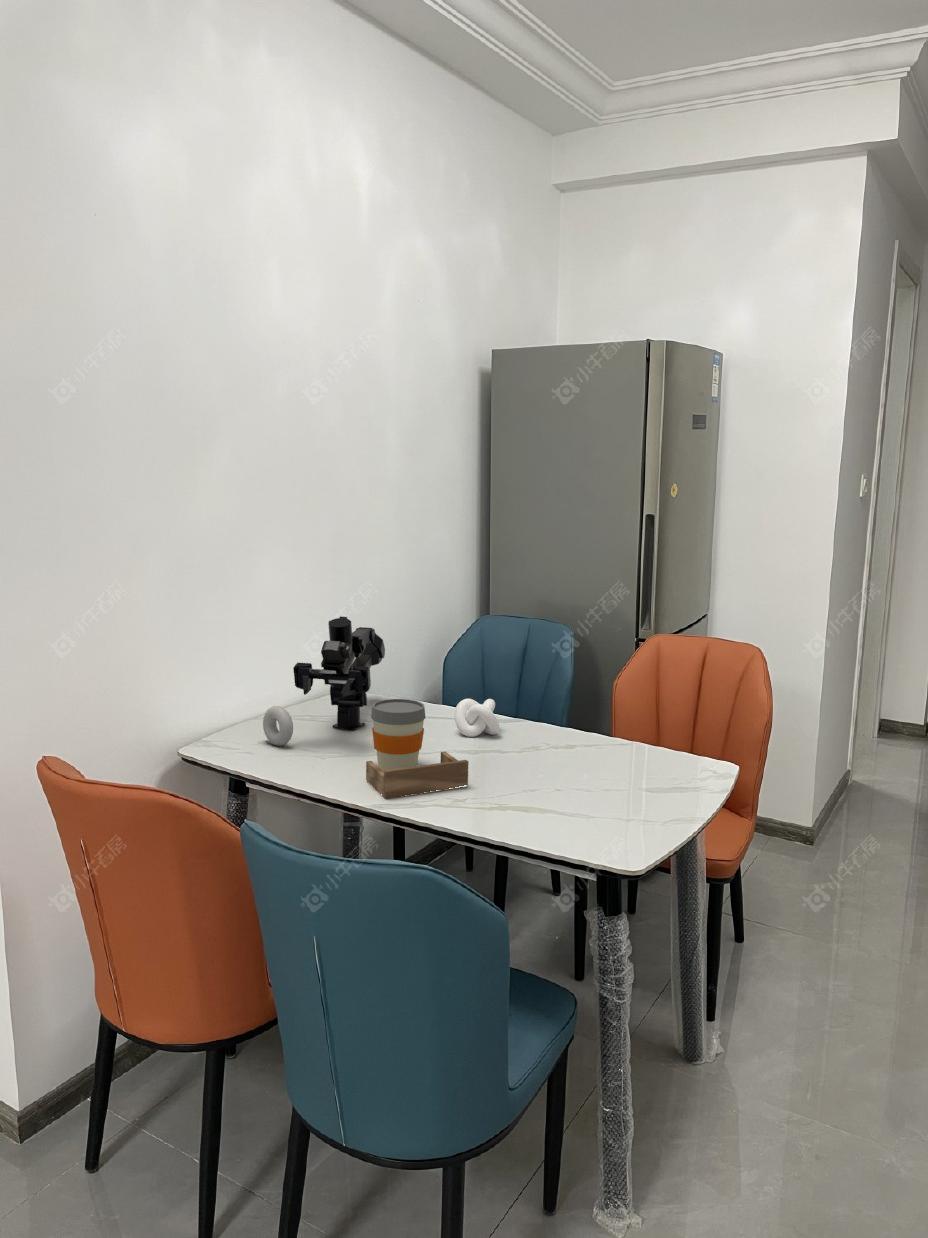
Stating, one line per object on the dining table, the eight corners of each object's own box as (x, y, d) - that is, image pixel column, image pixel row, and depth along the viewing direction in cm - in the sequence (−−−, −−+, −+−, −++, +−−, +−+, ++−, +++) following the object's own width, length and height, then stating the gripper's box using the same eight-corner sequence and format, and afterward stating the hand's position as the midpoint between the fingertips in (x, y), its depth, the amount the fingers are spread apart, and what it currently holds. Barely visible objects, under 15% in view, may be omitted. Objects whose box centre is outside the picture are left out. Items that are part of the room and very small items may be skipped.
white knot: (459, 741, 241) (460, 707, 239) (449, 728, 252) (450, 695, 251) (502, 739, 244) (503, 706, 242) (490, 726, 255) (491, 694, 253)
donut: (296, 748, 232) (296, 709, 230) (285, 751, 230) (284, 711, 228) (271, 739, 239) (270, 701, 237) (260, 742, 236) (259, 703, 234)
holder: (366, 780, 211) (366, 754, 210) (445, 770, 219) (445, 745, 218) (385, 799, 200) (385, 772, 199) (467, 787, 208) (468, 761, 207)
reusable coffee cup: (359, 767, 220) (359, 705, 217) (398, 755, 229) (399, 695, 226) (396, 781, 211) (397, 716, 208) (435, 768, 220) (436, 706, 218)
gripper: (301, 632, 236) (282, 662, 222) (374, 636, 233) (359, 666, 219) (304, 671, 241) (286, 702, 227) (376, 676, 238) (362, 707, 224)
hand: (323, 694), depth 224 cm, fingers open, 9 cm apart
